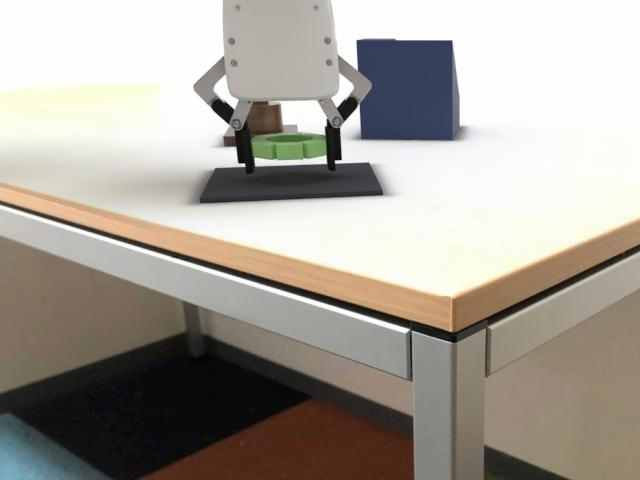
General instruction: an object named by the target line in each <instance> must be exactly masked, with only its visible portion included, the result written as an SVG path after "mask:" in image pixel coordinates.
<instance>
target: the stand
mask: <svg viewBox="0 0 640 480" xmlns="http://www.w3.org/2000/svg"><path fill="white" fill-rule="evenodd" d="M246 120H247V121H248V126H249V128H251V130H252V138H254V137H256V136H262V135H268V134H277V133H299V129H298V124H284V123H283V121H284V120H283V111H282V103H281V101H254V102H253V104H252V106H251V109H250V111H249V114H248V116H247V118H246ZM222 139H223V145H224V147H236V141H235V132H234V130H233V129H232V128H231V127H230V125H228V128H227V130H226V131H225V132H224V135H223V136H222Z"/></svg>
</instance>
